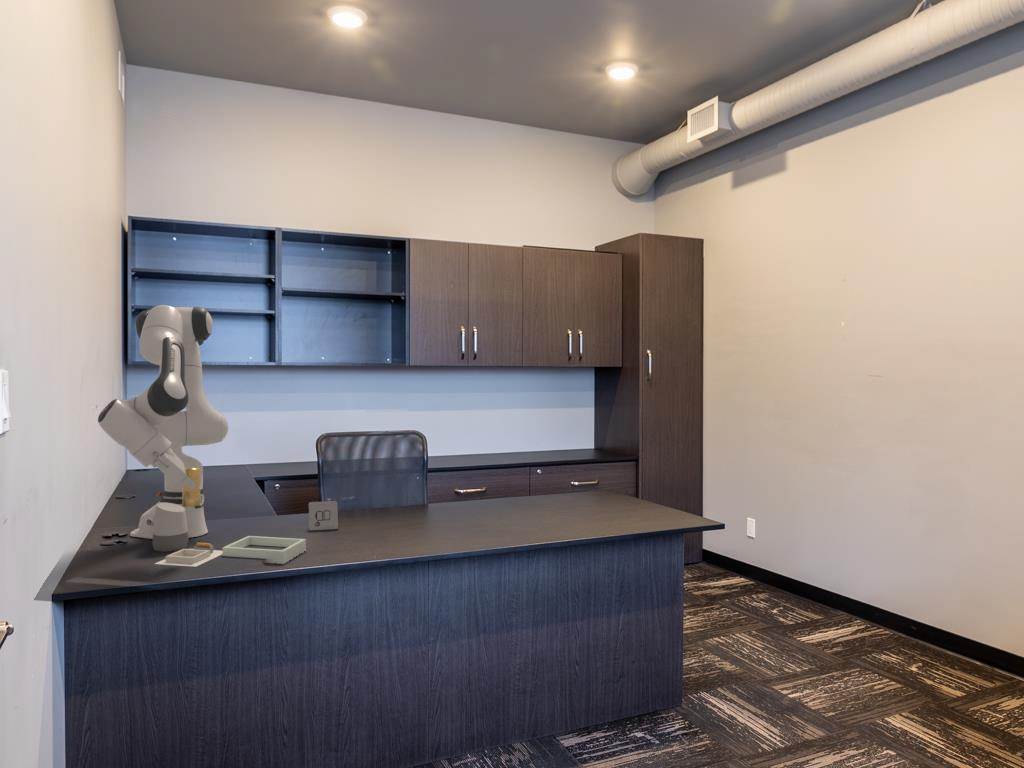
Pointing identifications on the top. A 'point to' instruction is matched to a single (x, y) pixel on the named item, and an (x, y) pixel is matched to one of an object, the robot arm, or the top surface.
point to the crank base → (192, 556)
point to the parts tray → (269, 555)
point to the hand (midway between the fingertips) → (194, 485)
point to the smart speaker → (170, 527)
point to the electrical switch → (323, 515)
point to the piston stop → (191, 495)
